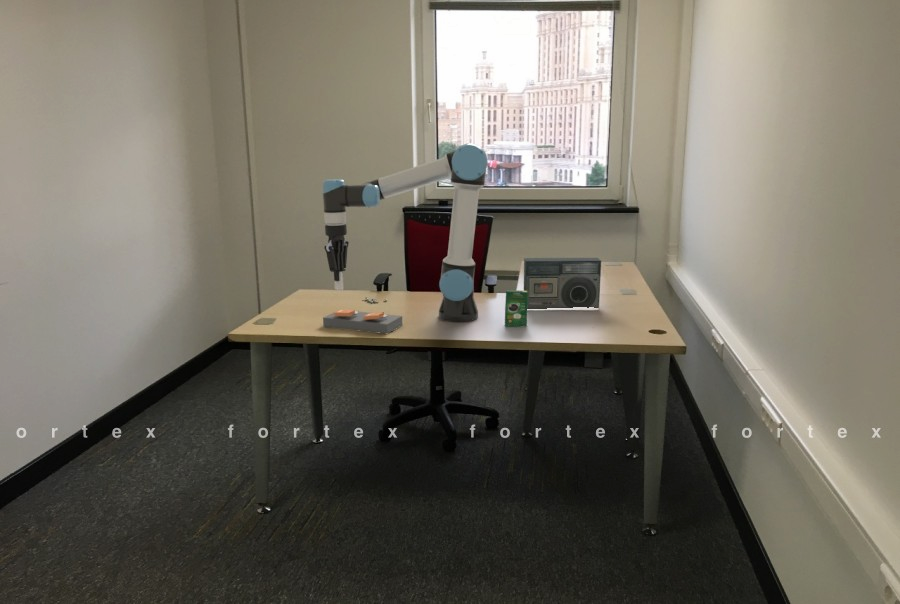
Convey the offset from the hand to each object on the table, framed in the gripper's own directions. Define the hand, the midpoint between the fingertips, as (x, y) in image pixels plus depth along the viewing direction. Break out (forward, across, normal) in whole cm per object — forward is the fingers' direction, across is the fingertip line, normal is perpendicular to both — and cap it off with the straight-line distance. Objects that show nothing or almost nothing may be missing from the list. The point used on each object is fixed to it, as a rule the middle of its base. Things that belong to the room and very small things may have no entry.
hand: (339, 289), depth 242 cm
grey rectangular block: (+14, -2, +8) cm, 16 cm away
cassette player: (+15, -53, +69) cm, 88 cm away
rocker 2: (+9, 0, +14) cm, 16 cm away
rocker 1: (+9, 0, +2) cm, 9 cm away
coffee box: (+14, -22, +60) cm, 65 cm away
